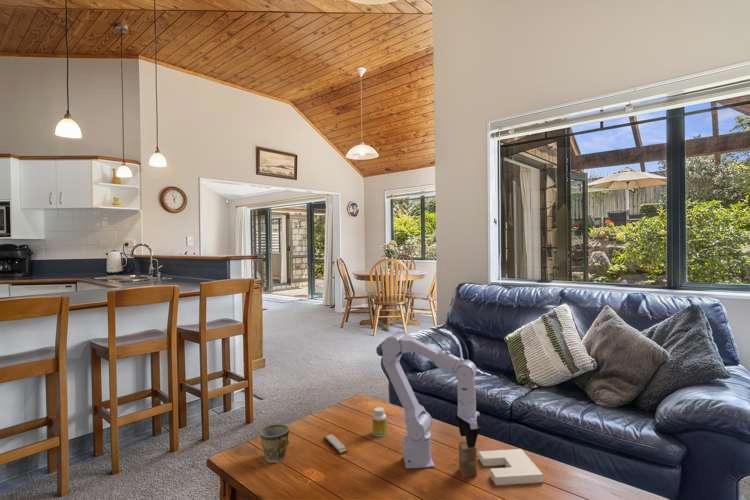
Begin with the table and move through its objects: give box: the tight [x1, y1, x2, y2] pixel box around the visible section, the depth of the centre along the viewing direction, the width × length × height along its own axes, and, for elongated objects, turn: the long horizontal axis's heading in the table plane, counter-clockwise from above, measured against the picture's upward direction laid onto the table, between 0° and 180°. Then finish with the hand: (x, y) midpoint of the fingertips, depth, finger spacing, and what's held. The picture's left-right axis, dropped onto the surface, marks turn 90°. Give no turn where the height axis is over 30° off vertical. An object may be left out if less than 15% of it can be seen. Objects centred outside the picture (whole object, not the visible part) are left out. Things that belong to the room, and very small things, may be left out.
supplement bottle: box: [372, 406, 388, 438], centre depth 160 cm, size 5×5×10 cm
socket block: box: [478, 448, 544, 486], centre depth 133 cm, size 15×16×2 cm
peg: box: [458, 441, 478, 478], centre depth 132 cm, size 4×4×9 cm
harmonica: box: [323, 434, 348, 456], centre depth 152 cm, size 15×3×2 cm, turn 30°
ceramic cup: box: [259, 423, 290, 464], centre depth 142 cm, size 13×10×10 cm
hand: (467, 441), depth 132 cm, fingers open, 7 cm apart
